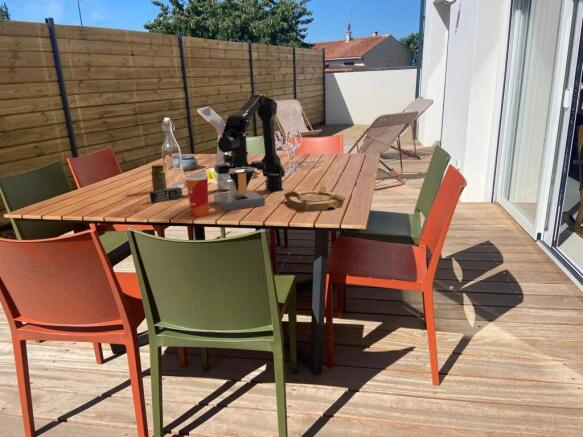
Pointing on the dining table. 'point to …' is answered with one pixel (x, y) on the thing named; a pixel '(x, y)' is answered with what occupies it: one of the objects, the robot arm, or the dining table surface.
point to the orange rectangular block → (241, 183)
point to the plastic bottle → (223, 179)
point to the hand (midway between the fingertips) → (241, 189)
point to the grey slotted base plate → (238, 199)
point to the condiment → (158, 178)
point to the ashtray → (314, 200)
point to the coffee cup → (198, 193)
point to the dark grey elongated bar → (166, 195)
